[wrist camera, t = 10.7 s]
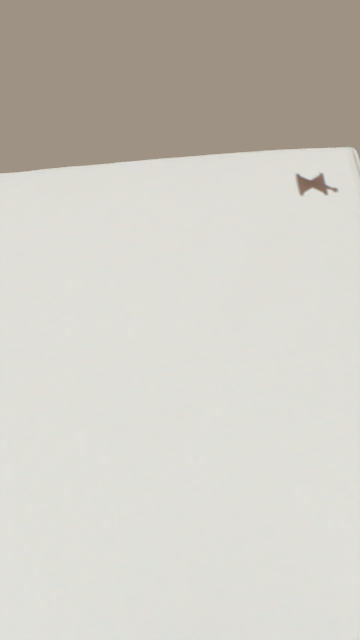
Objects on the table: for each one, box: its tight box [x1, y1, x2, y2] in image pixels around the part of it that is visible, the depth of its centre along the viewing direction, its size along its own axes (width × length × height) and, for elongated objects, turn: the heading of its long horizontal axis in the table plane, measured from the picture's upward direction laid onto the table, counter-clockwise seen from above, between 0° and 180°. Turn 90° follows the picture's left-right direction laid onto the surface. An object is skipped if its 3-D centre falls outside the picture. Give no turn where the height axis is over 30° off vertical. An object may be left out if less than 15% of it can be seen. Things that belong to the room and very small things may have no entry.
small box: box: [0, 147, 360, 640], centre depth 9 cm, size 8×6×13 cm
